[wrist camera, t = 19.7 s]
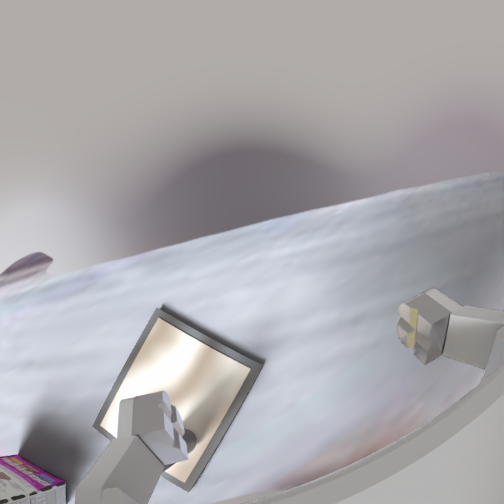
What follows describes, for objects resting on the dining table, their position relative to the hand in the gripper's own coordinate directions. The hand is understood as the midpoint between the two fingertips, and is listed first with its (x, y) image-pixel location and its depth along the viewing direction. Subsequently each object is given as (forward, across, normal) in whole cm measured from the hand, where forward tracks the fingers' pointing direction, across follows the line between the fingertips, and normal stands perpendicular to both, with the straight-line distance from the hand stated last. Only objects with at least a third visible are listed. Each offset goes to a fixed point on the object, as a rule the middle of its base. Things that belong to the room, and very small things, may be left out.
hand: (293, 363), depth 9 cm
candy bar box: (+16, -38, -29) cm, 50 cm away
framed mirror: (+20, -11, -21) cm, 31 cm away
